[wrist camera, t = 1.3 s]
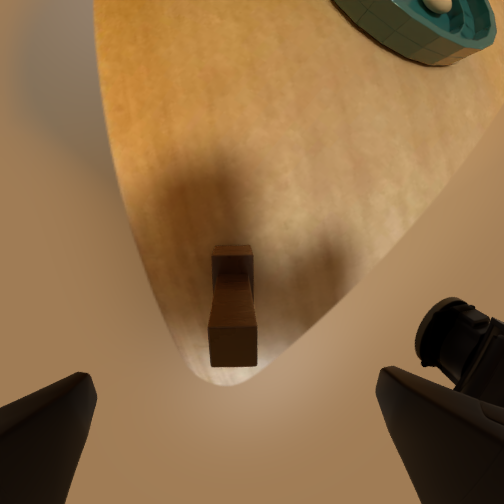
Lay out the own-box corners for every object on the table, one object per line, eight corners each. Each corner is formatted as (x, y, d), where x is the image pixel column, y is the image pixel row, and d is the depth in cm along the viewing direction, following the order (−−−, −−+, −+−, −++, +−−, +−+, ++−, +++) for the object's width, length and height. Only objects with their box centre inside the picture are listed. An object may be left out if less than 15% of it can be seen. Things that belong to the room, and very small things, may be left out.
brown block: (251, 301, 21) (264, 388, 11) (216, 301, 21) (205, 389, 11) (250, 245, 20) (266, 297, 10) (214, 245, 20) (196, 298, 10)
